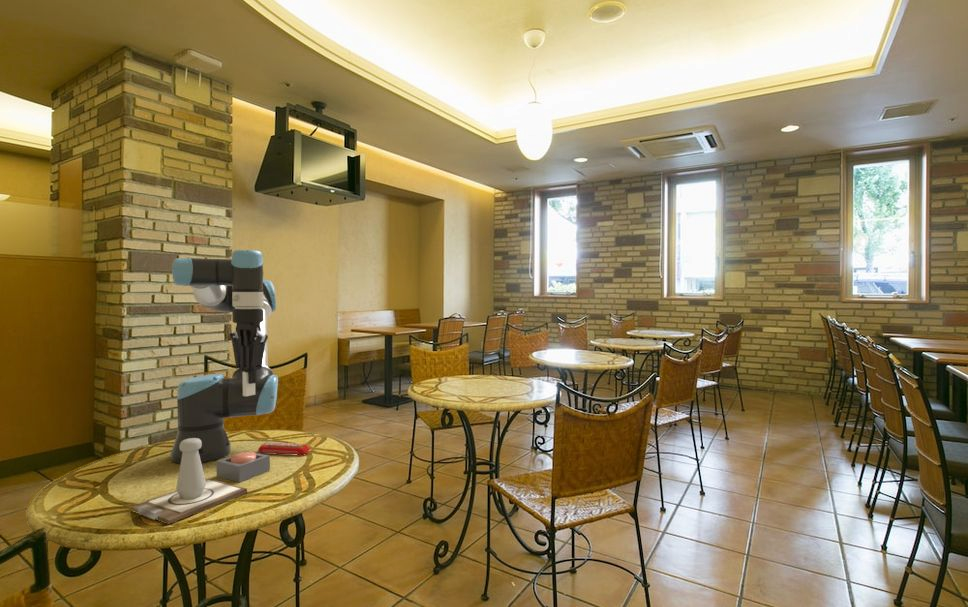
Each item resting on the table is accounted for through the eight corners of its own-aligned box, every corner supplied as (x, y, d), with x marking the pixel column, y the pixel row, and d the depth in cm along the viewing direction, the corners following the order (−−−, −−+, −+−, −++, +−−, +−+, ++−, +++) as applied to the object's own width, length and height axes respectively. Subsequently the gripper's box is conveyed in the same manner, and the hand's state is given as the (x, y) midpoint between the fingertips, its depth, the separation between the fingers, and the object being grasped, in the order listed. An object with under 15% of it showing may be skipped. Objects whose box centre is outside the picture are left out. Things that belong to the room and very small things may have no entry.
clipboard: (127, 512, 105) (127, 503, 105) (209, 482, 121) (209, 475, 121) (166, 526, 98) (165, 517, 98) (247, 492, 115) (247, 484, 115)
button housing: (216, 476, 126) (216, 461, 126) (247, 465, 134) (247, 451, 134) (239, 482, 122) (239, 466, 122) (269, 470, 130) (269, 455, 130)
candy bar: (255, 454, 144) (255, 444, 144) (263, 450, 147) (263, 440, 147) (305, 457, 141) (305, 447, 141) (312, 453, 145) (311, 443, 145)
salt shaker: (212, 492, 112) (211, 437, 112) (189, 503, 107) (188, 444, 106) (193, 489, 114) (192, 434, 114) (170, 499, 108) (169, 441, 108)
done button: (225, 468, 126) (225, 457, 126) (246, 461, 132) (246, 450, 132) (240, 472, 124) (240, 460, 124) (261, 465, 129) (261, 454, 129)
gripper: (219, 307, 129) (220, 395, 130) (251, 309, 123) (252, 400, 124) (245, 306, 136) (246, 390, 137) (276, 308, 130) (277, 395, 131)
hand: (249, 395), depth 130 cm, fingers closed
